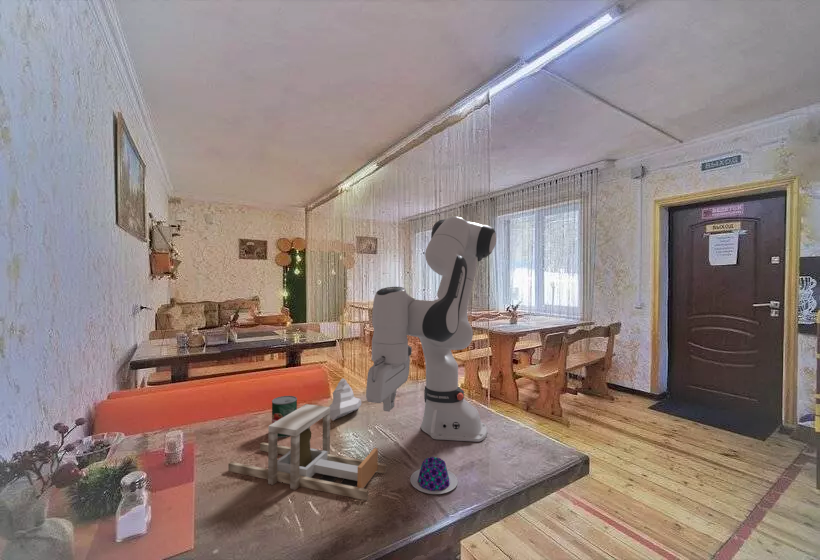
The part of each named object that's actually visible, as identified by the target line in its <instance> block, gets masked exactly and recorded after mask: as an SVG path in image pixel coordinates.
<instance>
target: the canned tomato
mask: <svg viewBox="0 0 820 560" xmlns="http://www.w3.org/2000/svg"><path fill="white" fill-rule="evenodd" d="M297 409H298V398H297V396H294V395H282V396H278V397H274V398H273V399H272V400H271V424H272V423H274V422H276V421H278V420H279V419H281V418H283V417H285V416H286V415H288V414H290V413H291V412H293V411H295V410H297ZM287 437H291V435H285V434H279V433H277V439H279V438H280V439H281V438H282V439H283V438H287Z"/></svg>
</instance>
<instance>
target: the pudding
mask: <svg viewBox="0 0 820 560" xmlns="http://www.w3.org/2000/svg"><path fill="white" fill-rule="evenodd" d="M447 468H448V467H447V465H446V462H445V460H443V459H442V458H440V457H439V456H438V457H435V456H430V457H426V458H424V460H423V461H422V463H421V465H420V468H419V469H417V470H416V471H414V472H413V473H412V474H411V475H410V478H409V481H410V484H411V485H412V487H414V489H416V490H418V491H419V492H422V493H425V494H428V495H429V494H430V495H441V494H446V493H449V492H451V491H453V490H455V488H456V487H457V486H458V483H459V481H458V478H457V476H456V475H455V473H454V472H452V471H450V470H449V469H447Z"/></svg>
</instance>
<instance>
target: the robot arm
mask: <svg viewBox="0 0 820 560" xmlns="http://www.w3.org/2000/svg"><path fill="white" fill-rule="evenodd" d="M496 244H497V233H496V230H495V228H493V227H492V226H490V225H487V224H481V223H478V222H473V221H467V220H466V219H465V218H462V217H460V216H456V215H455V216H448V217H447V218H445V219H439V220H437V221H436V222H435V223H434V224H433V226H432V230H431V236H430V240H429V242H428V244H427V246H426V249H425V251H424V256H425V261H426V263H427V265H428V266H429V267H430V269H431V270H432V271H433V272H435V273H436V274H437V275H439V276H441V280H440V281H439V286H438V290H437V292H436V294H437V296H436V297H437V298H436V299H434V300H424V299H423V300H422V299H421V300H420V299H416V298H413V297H412V296H410V295H409V294H408V293H407V290H406V288H405V287H404V286H403V287H402V286H390V287H389V286H387V287H383V288H380V289H379V290H377V291H376V292H375V294H374V297H373V304H372V314H371V315H372V317H371V320H372V321H371V323H372V327H373V328H372V329H373V335H372V338H371V361H372V362H373V363H372V364H373V365H372V366H371V367H369V369H368V372H367V376H366V377H367V379H366V390H365V392H366V393H365V397H366V401H367V402H369V403H374V404H382V407H383V408H382V409H383V410H382V411H384V412H390V411H391V410H393V408H394V407H395V400H396V397H397V390H398V389H399V388H400V387H401V386H402V385H404V384H405V383H406V382H407V381H408V378H409V375H410V362H411V359H410V357H411V356H412V352H413V351H412V350H413V349H412V346H410V345H408V343H409V342H408V341H409V338H408V336H410V337H413V338H415V337H416V338H418V339H419V342H420V343H421V348H422V352H423V356H424V357H423V358H424V362H425V386H424V392H423V396H424V398H423V399H424V403H425V404H424V412H423V417H422V421H421V425H420V429H421V430H422V431H423V433H426V434H427V435H429V436H430V437H431V438H432V439H434V440H438V441H439V440H441V441H458V442H459V441H461V442H477V443H478V442H481V441H483V440H485V439H486V438H487V435H488V426H487V425H486V423H484V422H482V421H481V417H480V416H481V415H480V412H479V411H478V409H477V408H476V407H475V406H473V405H472V404H471V403H470V402H468V401H467V400H466V399H465V389H464V388H461V387H459V365H458V362H457V360H456V359H455V358H454V355H453V352H452V351H459V350H464V349H466V348H468V347H469V346H470V344H471V343H472V341H473V337H474V330H473V326H471V323H470V322H469V319H468V318H469V317H468V305H469V299H470V295H471V291H472V288H473V284H474V281H475V278H476V277H475V276H476V272H477V264H478V262H481V261H482V260H483V259H485V258H487V257H488V256H490V255H491V254H492V252H493V250H494V249H495V247H496Z"/></svg>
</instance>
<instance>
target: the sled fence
mask: <svg viewBox="0 0 820 560" xmlns="http://www.w3.org/2000/svg"><path fill="white" fill-rule="evenodd" d="M310 450H311V458H312V462H311V463H310V464H308V465H307V466H306V467H302V466H299V475H300V476H305V477H309V478H313V476H314V475H315V474H318V475H319V474H321V475H330V476H335V477H338V478H341V479H344V478H345V479H350V480H355V481H358V482H357V485H356V487H359V488H364V489H365V487H366V486H367V484H368V483H369V482H370V480H371V479H372V478H373V477H374V475H375V474H376V473H377V472H376V471H377V470H378V463H379V456H378V455H379V449H378V448H377V447H374V448H373V449H372V450H371V451H370V452H369V453H368V455H367V456H366V457H365V458H364V459H362V460H363V462H362V463H361V464H360V465H359V466H355V465H350V464H345V463H339V462H334V461H328V451H324V450H323V449H316V448H311V447H310ZM290 463H291V450H290V451H289V452H288V453H286V454H285V455H282V456H280V457H279V458H277V471H280V472H285V473H290Z"/></svg>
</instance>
